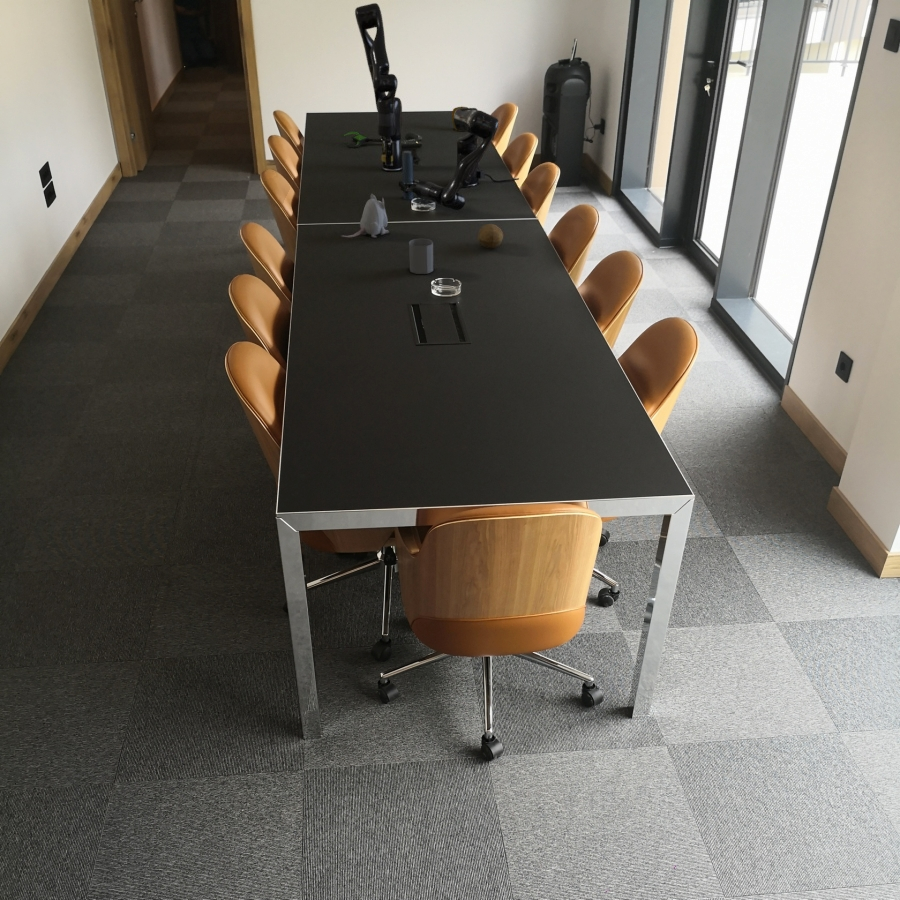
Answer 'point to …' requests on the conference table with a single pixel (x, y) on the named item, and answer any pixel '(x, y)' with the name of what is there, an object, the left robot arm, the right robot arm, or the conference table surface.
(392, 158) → the lid
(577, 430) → the conference table surface
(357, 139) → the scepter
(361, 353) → the conference table surface
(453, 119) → the apple
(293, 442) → the conference table surface
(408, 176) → the dark blue cylinder
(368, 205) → the toy
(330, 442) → the conference table surface
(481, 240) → the potato
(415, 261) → the cup
